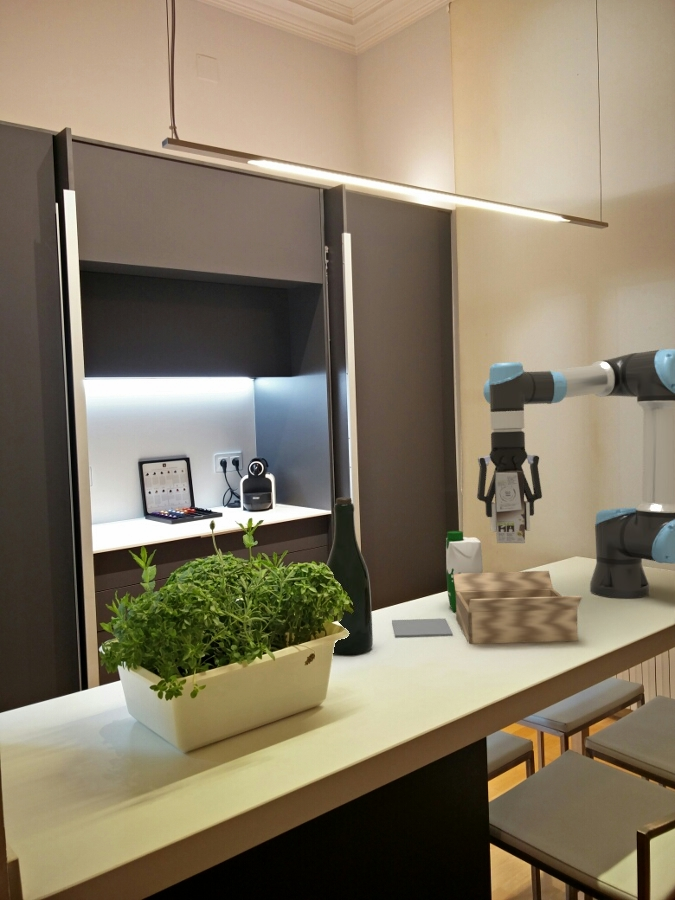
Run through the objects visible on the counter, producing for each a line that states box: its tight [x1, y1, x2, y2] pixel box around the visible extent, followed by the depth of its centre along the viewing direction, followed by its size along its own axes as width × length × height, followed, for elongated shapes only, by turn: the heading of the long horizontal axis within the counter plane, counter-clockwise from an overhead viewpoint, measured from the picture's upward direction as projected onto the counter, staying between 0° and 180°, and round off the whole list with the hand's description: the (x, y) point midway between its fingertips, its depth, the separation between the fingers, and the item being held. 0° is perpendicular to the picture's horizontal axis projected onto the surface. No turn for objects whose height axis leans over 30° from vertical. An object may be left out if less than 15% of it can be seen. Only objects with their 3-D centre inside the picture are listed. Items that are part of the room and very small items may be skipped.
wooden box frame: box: [453, 570, 583, 645], centre depth 174 cm, size 24×27×11 cm
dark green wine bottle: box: [326, 497, 374, 656], centre depth 163 cm, size 10×10×33 cm
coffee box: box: [494, 470, 526, 544], centre depth 173 cm, size 9×6×16 cm
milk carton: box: [445, 530, 484, 613], centre depth 194 cm, size 9×9×20 cm
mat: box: [391, 618, 454, 638], centre depth 177 cm, size 13×13×1 cm
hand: (510, 530), depth 173 cm, fingers closed on coffee box, 7 cm apart
